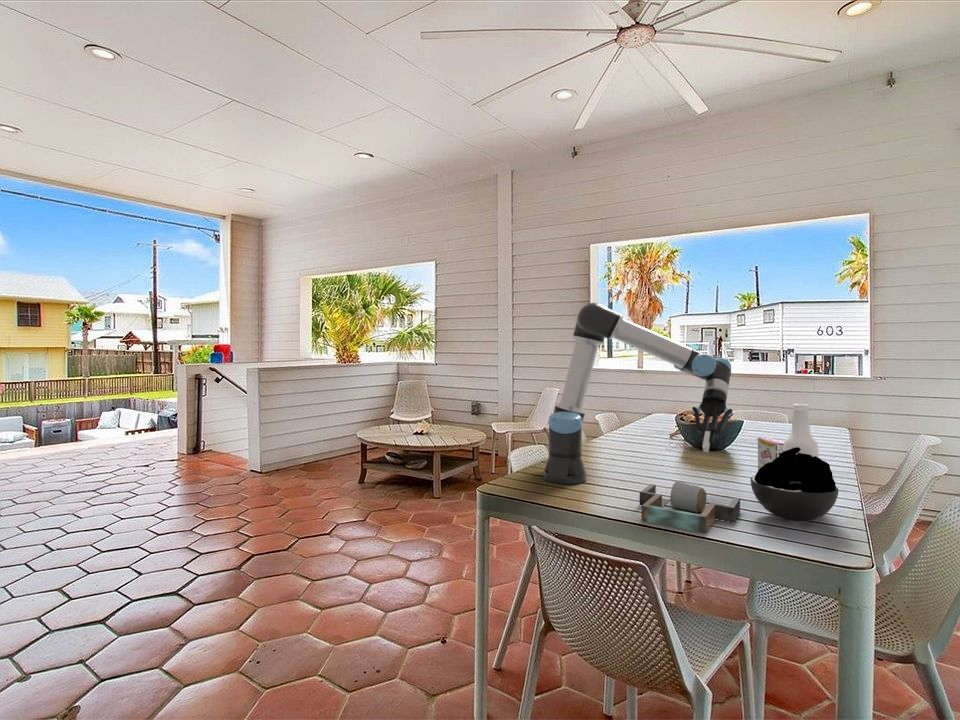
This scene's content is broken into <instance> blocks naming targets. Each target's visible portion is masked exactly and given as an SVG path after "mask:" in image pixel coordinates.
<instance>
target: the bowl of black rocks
mask: <svg viewBox="0 0 960 720" xmlns="http://www.w3.org/2000/svg"><path fill="white" fill-rule="evenodd" d="M800 450H801V449H800V448H799V447H796V448H792V449H789V450H787V451H783V452H782V453H779V455H780V456H779V457H777V458H775V459H774V460H773V461H772V462H769V463H766V464H764V466H762V467H761V468H760V469H759V470H758V469H757V472H756V473H755V475H753V476H751V477H750V486H751V490H752V492H753V494H754V496H755V498H756V500H757V502H759V504H760V505H761V506H762V507H763V508H764V509H765V510H766V511H768V512H769V513H771V514H772V515H774V516H776V517H778V518H779V519H783V520H786V521H791V522H797V523H799V522H800V523H805V522H810V521H815V520H817V519H820V518H821V517H823V516H825V515H826V514H828V513H829V511H831V509H833V507H834V505H835V504H836V501H837V499H838V496H839V488H838V487H837V486H836V481H835V479H834V476H833V470H832V469H831V465H830V464H829V463H828V462H827V461H825V460H823V459H821V458H820V457H819V456H818V457H816V456H814V457H812V456H811V455H809V454H801V453H798V452H799V451H800ZM796 453H797V454H796Z"/></svg>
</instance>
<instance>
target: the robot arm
mask: <svg viewBox="0 0 960 720" xmlns="http://www.w3.org/2000/svg"><path fill="white" fill-rule="evenodd" d="M572 337H573V339H574V341H575V343H574V347H573V351H572V354H571V359H570V363H569V367H568V370H567V374H566V379H565V382H564V386H563V391H562V395H561V398H560V401H559V402H558V403H556V404H555V406H554V409H553V412H552V413H551V414H550V415H549V416H548V423H547V425H548V458H547V461H546V464H545V467H544V470H543V479H544V480H545V481H546V482H549V483H554V484H559V485H560V484H562V485H575V484H576V485H577V484H581V483H585V482H586V481H587V471H586V468H585V465H584V461H583V459H582V455H583V453H582V452H583V451H582V450H583V448H582V446H583V445H582V444H583V441H582V439H583V437H582V436H583V435H582V433H583V429H582V428H583V423H584V419H585V415H586V412H585V409H584V408H583V406H584V403H585V399H586V395H587V391H588V387H589V383H590V379H591V375H592V371H593V367H594V364H595V360H596V357H597V352H598V349H599V347H600V346H601V345H603V344H604V341H605V339H608V340H612V339H615V340H617V341H619V342H622V343H624V344H626V345H627V346H628V345H629V346H631V347H633V348H635V349H638V350H640V351H641V352H644V353H647V354H649V355H651V356H653V357H655V358H657V359H659V360H662V361H664V362H667V363H669V364H671V365H673V367H674V368H675V369H676V370H678V371H680V372H682V373H683V372H684V373H685V374H689V375H690V376H691V375H692V376H694V377H697V378H699V379H701V380H704V381H705V385H704V390H703V394H702V400H701V403H700V404H699V406H697V407H695V406H693V407H691V409H692V412H693V415H694V419H695V427H696V431H697V433H698V434H700V441H701V443H702V451H703V453H709V451H710V446H711V444H714V442H715V437H716V435H717V436H718V435H719V436H721V435H722V434H723V432H724V430H725V428H726V426H727V424H728V422H729V420H730V419H731V417H733V416H734V413H733V409H732V408H727V398H728V397H727V396H728V392H729V387H730V386H729V384H730V380H731V375H732V363H731V362H730V361H729V360H728V359H727V358H724V357H713V356H712V355H710V354H708V353H705V352H700V351H698V350H695V349H694V348H691V347H689V346H687V345H685V344H682V343H680V342H677V341H675V340H673V339H671V338H669V337H667V336H663V335H662V334H660V333H658V332H655V331H652V330H650V329H648V328H645V327H644V326H641V325H639V324H636V323H634V322H632V321H629V320H627V319H625V318H623V315H622V314H621V313H619V312H616V311H614V310H612V309H610V307H607V306H606V305H603V304H602V303H599V302H590V303H587V304H585V305H583V307H581V308H580V309H579V312H578V314H577V317H576V322H575V326H574V331H573V335H572ZM701 412H702V413H703V415H704V417H703V421H702V426H701V419H700V418H701V417H700V413H701ZM720 416H722V417H721V419H720V421H719V417H720ZM711 417H712V418H711ZM710 420H711V424H710ZM718 421H719V422H718ZM709 424H710V428H709ZM708 429H709V430H708Z"/></svg>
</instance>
